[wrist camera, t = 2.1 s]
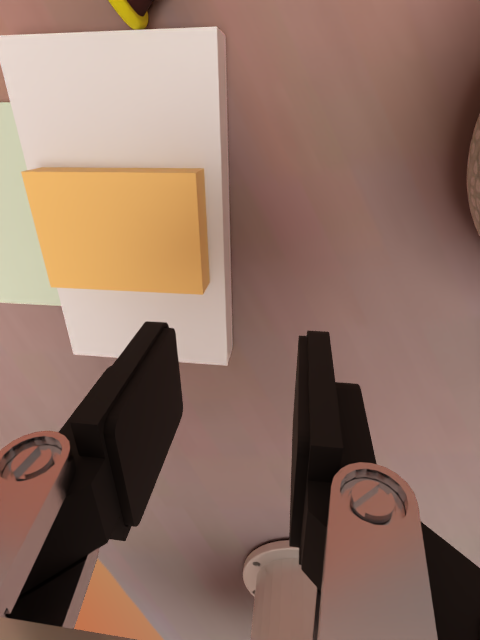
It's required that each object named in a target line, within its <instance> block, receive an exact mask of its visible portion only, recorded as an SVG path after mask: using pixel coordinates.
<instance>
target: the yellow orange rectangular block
mask: <svg viewBox="0 0 480 640" xmlns="http://www.w3.org/2000/svg"><path fill="white" fill-rule="evenodd" d="M21 174H22V178H23V182H24V186H25V189H26V193H27V197H28V201H29V205H30V209H31V213H32V217H33V220H34V224H35V228H36V232H37V236H38V240H39V244H40V247H41V251H42V255H43V259H44V263H45V267H46V271H47V275H48V278H49V282H50V286H51V287H54V288H74V289H95V290H115V291H136V292H157V293H177V294H198V295H203V294H204V292H205V290H206V288H207V287H208V285H209V283H210V275H209V256H208V236H207V216H206V197H205V177H204V168H83V167H41V168H36V169H31V170H26V171H22V172H21Z"/></svg>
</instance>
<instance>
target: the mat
mask: <svg viewBox="0 0 480 640" xmlns="http://www.w3.org/2000/svg"><path fill="white" fill-rule="evenodd" d="M26 170H27V167H26V163H25V159H24V155H23V151H22V147H21V143H20V139H19V135H18V131H17V127H16V123H15V119H14V115H13V111H12V107H11V103H10V102H0V303H17V304H35V305H53V306H61V302H60V298H59V294H58V290H57V288H54V287H51V286H50V282H49V278H48V275H47V271H46V267H45V263H44V259H43V255H42V251H41V247H40V244H39V240H38V236H37V232H36V228H35V224H34V220H33V217H32V213H31V209H30V205H29V201H28V197H27V193H26V189H25V186H24V182H23V178H22V174H21V172H22V171H26Z"/></svg>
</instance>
